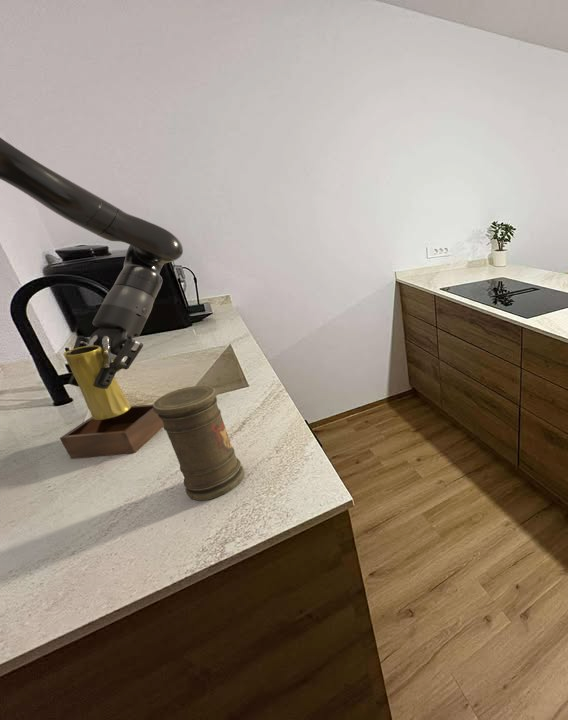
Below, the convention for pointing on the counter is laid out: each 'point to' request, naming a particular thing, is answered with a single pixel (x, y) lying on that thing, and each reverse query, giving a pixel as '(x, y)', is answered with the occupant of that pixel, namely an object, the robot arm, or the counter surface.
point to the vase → (85, 371)
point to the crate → (113, 433)
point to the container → (200, 441)
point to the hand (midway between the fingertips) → (87, 386)
